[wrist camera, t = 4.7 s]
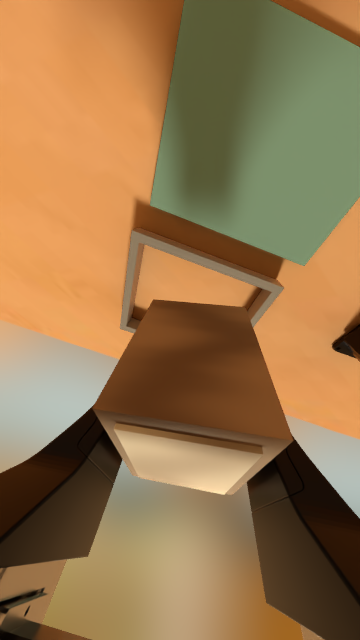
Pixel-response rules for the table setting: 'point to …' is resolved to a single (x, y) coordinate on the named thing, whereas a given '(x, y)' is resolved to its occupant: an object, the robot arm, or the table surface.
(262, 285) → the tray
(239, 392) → the walnut block
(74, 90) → the table surface
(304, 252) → the mat
